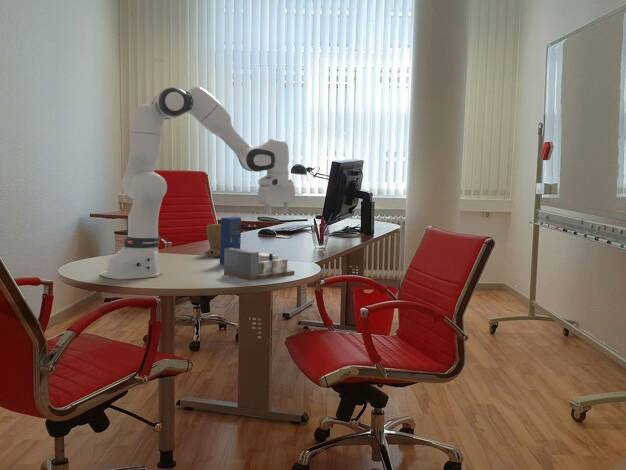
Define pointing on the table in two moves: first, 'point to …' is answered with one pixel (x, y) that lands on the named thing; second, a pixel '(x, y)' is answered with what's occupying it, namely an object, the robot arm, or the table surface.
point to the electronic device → (230, 234)
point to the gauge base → (267, 270)
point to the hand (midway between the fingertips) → (277, 213)
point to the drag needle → (270, 256)
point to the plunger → (266, 257)
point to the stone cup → (214, 240)
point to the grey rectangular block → (241, 262)
